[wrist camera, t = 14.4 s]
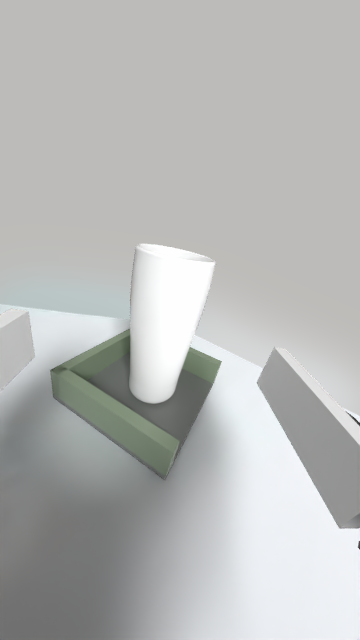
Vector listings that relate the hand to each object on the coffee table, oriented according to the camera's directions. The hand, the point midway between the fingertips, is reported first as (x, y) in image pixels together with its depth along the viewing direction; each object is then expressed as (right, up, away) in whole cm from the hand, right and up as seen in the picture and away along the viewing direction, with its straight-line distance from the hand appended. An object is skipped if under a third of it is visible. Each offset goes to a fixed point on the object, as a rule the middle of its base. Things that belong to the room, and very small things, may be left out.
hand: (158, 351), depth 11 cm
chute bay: (-3, -6, +12) cm, 14 cm away
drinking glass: (-2, -6, +12) cm, 13 cm away
